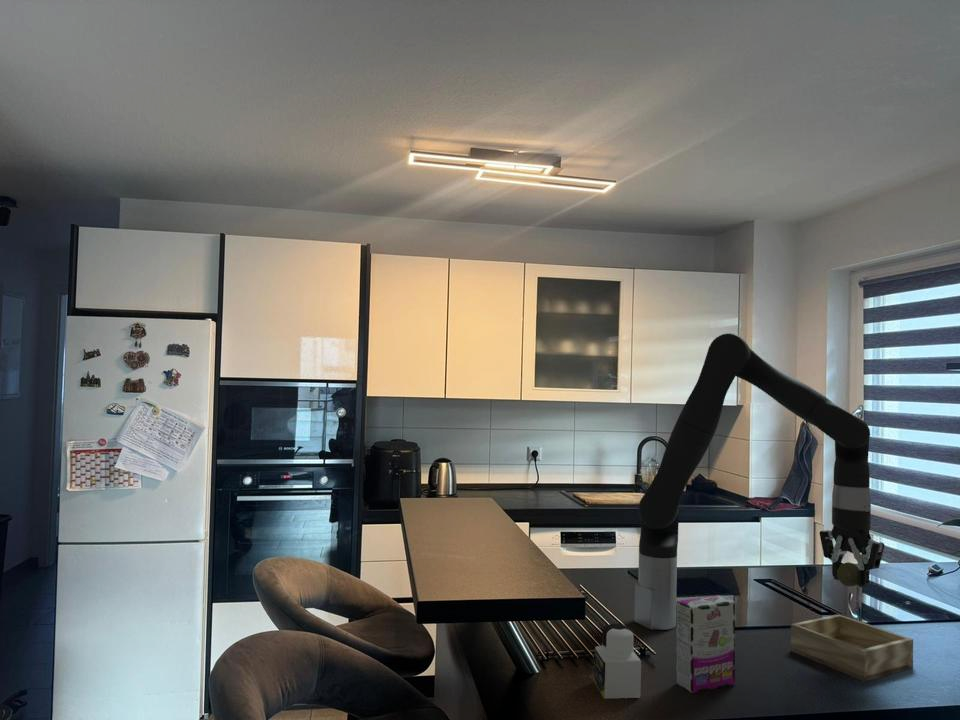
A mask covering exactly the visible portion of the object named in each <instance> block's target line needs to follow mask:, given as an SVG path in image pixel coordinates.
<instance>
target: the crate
mask: <svg viewBox="0 0 960 720" xmlns="http://www.w3.org/2000/svg"><path fill="white" fill-rule="evenodd" d="M790 652H791V653H795V654H798V655H799V656H802V657H804V658H807V659H809V660H811V661H814V662H816V663H819V664H821V665H823V666H825V667H828V668H830V669H833V670H835V671H838V672H840V673H843V674H845V675H847V676H850V677H851V678H855V679H857V680H860V681H862V682H863V683H866V682H868V681H872V680H876V679H879V678H882V677H886V676H889V675H893V674H896V673H900V672H903V671H906V670H909V669H913V668H914V639H913V638H910V637H906V636H904V635H901V634H898V633H895V632H893V631H890V630H887V629H883V628H881V627H878V626H875V625H872V624H869V623H867V622H863V621H860V620H857V619H853V618H852V617H848V616H846V615H845V616H844V615H842V614H840V613H839V614H833V615H828V616H824V617H820V618H814V619H809V620H805V621H799V622H795V623H791V624H790Z"/></svg>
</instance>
